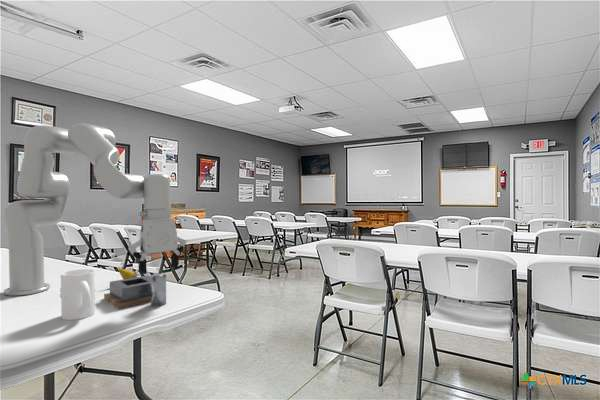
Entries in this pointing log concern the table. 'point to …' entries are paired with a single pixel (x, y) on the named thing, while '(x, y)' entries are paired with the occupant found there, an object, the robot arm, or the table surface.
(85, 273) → the mug
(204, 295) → the table surface
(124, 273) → the drill bit
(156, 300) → the steel peg
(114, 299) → the dock board
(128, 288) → the socket block
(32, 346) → the table surface
